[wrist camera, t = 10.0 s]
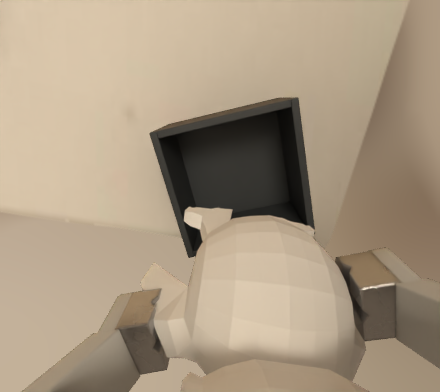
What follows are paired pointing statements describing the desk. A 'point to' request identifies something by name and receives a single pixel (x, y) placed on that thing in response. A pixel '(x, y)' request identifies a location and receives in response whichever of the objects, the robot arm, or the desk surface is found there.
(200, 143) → the dark grey hollow box
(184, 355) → the figurine
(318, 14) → the desk surface
